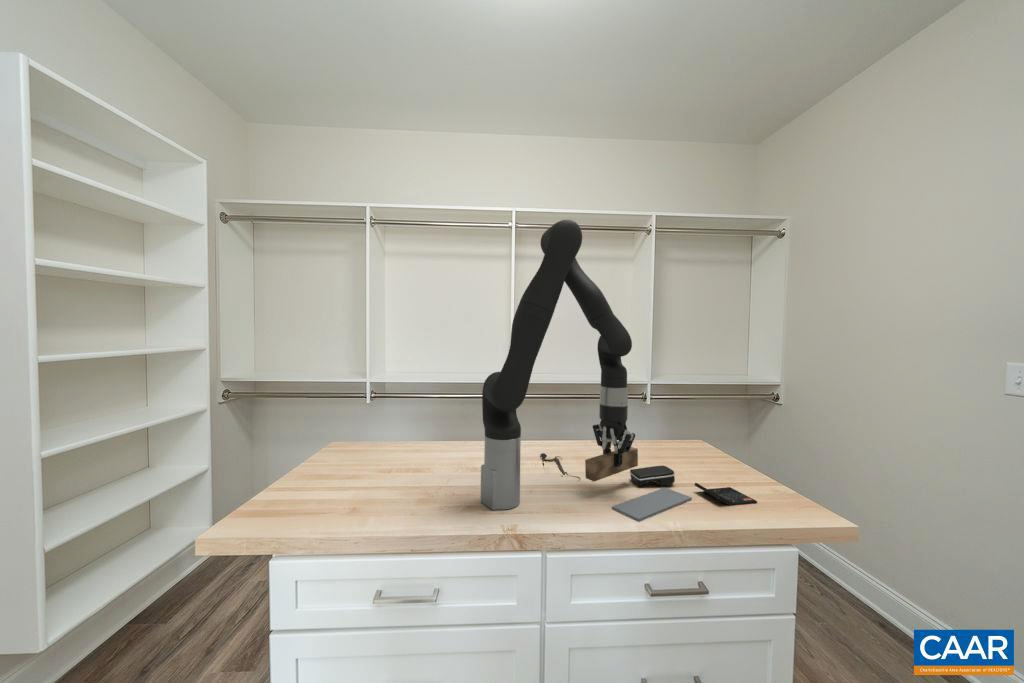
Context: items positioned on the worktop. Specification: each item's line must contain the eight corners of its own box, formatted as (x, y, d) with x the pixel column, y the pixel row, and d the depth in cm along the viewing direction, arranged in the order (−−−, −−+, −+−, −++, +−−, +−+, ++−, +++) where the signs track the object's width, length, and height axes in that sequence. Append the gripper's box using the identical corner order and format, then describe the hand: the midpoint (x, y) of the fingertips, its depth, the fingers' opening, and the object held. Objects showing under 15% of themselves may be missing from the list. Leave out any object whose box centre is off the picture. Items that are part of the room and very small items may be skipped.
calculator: (757, 504, 103) (757, 493, 103) (718, 508, 100) (718, 496, 100) (729, 490, 112) (730, 479, 112) (694, 493, 109) (694, 482, 109)
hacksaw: (539, 456, 140) (539, 452, 140) (568, 456, 140) (568, 452, 140) (546, 482, 116) (547, 477, 116) (581, 482, 116) (581, 477, 116)
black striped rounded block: (640, 490, 111) (678, 485, 113) (638, 477, 111) (676, 472, 113) (629, 481, 118) (665, 476, 120) (628, 469, 118) (664, 464, 120)
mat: (638, 521, 92) (638, 519, 92) (611, 508, 98) (611, 506, 98) (691, 499, 104) (691, 497, 104) (664, 489, 111) (665, 487, 111)
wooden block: (593, 481, 104) (593, 463, 103) (585, 478, 106) (585, 459, 106) (637, 465, 114) (637, 448, 113) (629, 462, 116) (629, 446, 116)
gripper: (585, 400, 113) (584, 460, 113) (624, 408, 101) (623, 475, 102) (603, 397, 117) (602, 455, 118) (643, 405, 106) (642, 469, 106)
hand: (612, 464), depth 110 cm, fingers closed on wooden block, 3 cm apart
